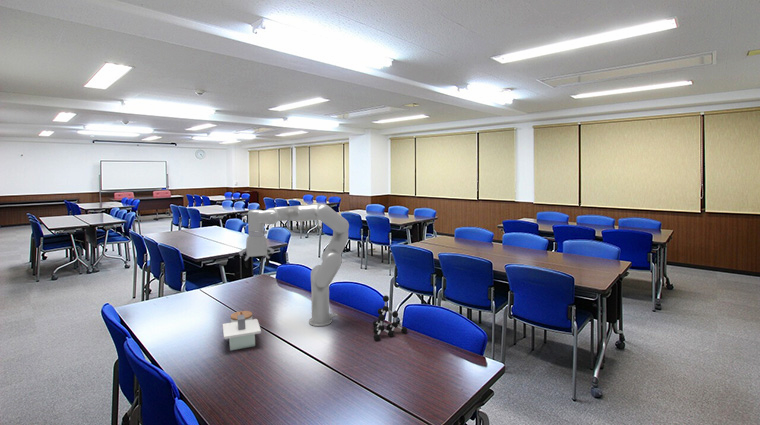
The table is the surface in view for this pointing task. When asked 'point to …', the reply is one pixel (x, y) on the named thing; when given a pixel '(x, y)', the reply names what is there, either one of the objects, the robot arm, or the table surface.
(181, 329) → the table surface
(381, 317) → the molecular model
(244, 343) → the pale green open bin
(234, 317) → the lidded jar
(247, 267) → the robot arm
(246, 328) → the lid
